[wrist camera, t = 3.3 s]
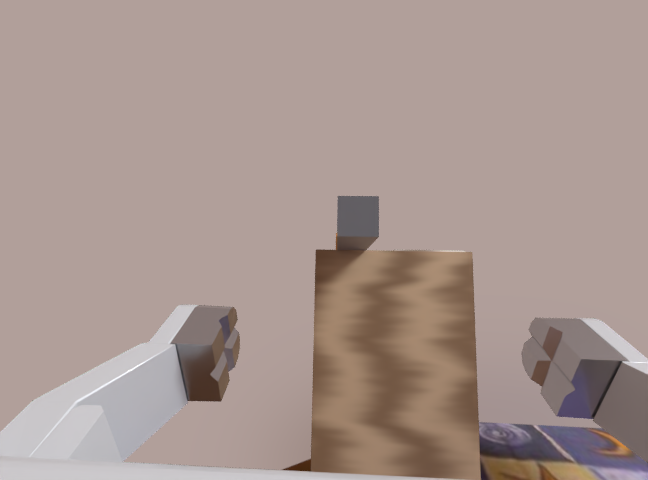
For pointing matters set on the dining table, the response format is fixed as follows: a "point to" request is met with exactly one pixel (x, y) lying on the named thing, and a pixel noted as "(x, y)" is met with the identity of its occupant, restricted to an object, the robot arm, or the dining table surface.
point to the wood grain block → (395, 364)
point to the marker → (357, 222)
